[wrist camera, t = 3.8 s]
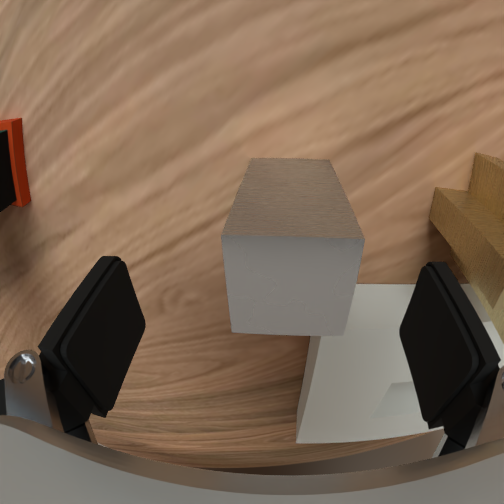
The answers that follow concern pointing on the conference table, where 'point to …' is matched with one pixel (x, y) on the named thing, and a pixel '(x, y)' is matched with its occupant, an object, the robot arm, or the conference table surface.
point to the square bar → (291, 250)
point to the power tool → (12, 165)
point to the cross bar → (477, 232)
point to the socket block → (367, 372)
